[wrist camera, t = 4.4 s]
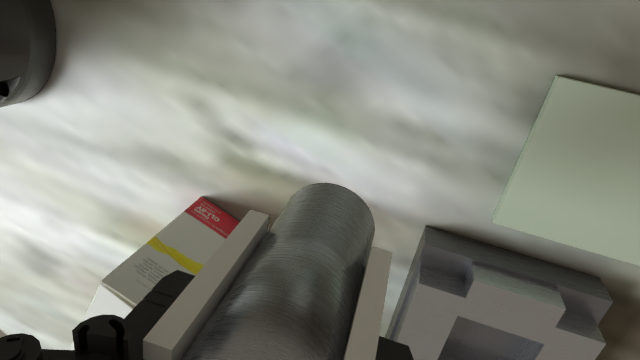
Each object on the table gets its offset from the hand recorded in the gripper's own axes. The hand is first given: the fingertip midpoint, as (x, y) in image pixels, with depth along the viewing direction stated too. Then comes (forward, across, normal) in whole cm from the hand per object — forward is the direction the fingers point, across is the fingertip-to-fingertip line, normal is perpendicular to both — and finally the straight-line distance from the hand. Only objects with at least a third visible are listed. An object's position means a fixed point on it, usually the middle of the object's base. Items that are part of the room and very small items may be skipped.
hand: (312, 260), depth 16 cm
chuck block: (+14, +12, -11) cm, 22 cm away
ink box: (+15, -11, -13) cm, 23 cm away
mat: (+14, +15, +2) cm, 21 cm away
